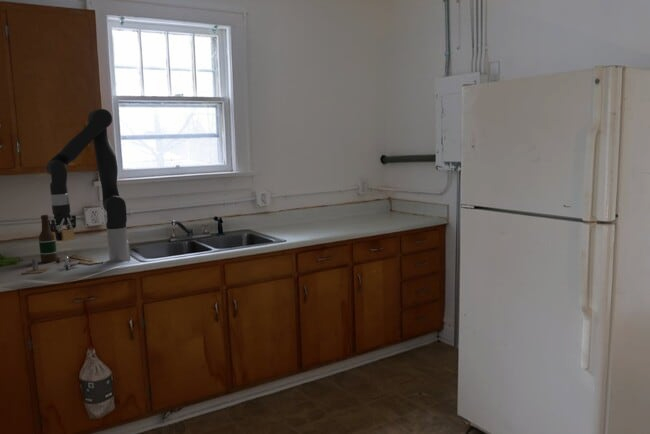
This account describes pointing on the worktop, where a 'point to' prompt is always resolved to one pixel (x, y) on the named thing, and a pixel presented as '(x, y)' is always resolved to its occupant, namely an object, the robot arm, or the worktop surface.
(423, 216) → the worktop surface
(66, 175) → the robot arm
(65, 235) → the brown slotted box
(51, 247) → the beer bottle
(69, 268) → the charcoal stand
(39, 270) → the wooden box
